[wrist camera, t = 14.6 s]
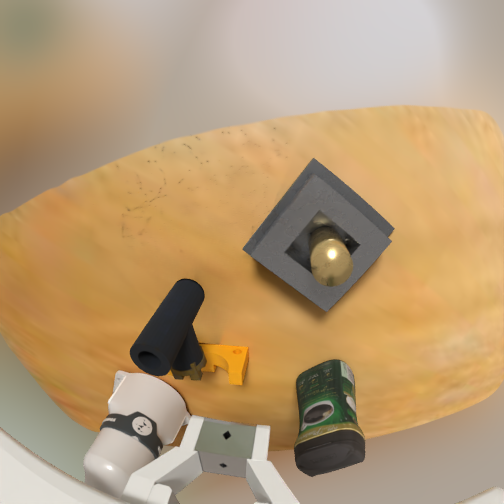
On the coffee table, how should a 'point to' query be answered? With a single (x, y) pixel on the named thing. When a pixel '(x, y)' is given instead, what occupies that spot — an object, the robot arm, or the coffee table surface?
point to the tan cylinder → (329, 257)
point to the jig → (310, 219)
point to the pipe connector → (172, 335)
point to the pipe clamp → (226, 360)
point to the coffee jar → (327, 420)
